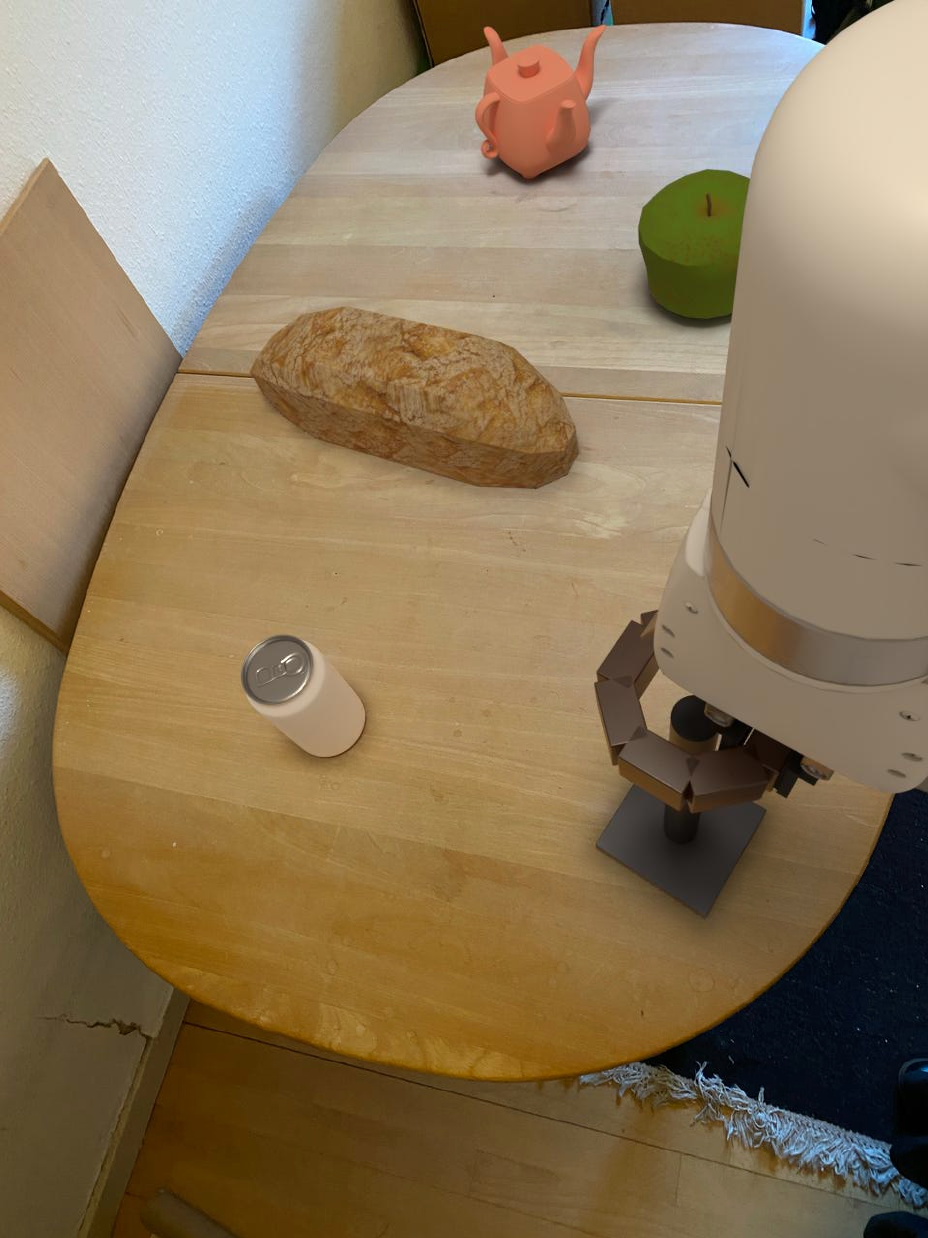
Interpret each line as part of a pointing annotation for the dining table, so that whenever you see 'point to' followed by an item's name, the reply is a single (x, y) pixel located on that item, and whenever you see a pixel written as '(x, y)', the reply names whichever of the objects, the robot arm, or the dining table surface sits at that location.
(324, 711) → the can
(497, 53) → the teapot
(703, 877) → the dark grey peg stand
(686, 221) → the apple
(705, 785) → the ring
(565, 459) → the bread
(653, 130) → the dining table surface
